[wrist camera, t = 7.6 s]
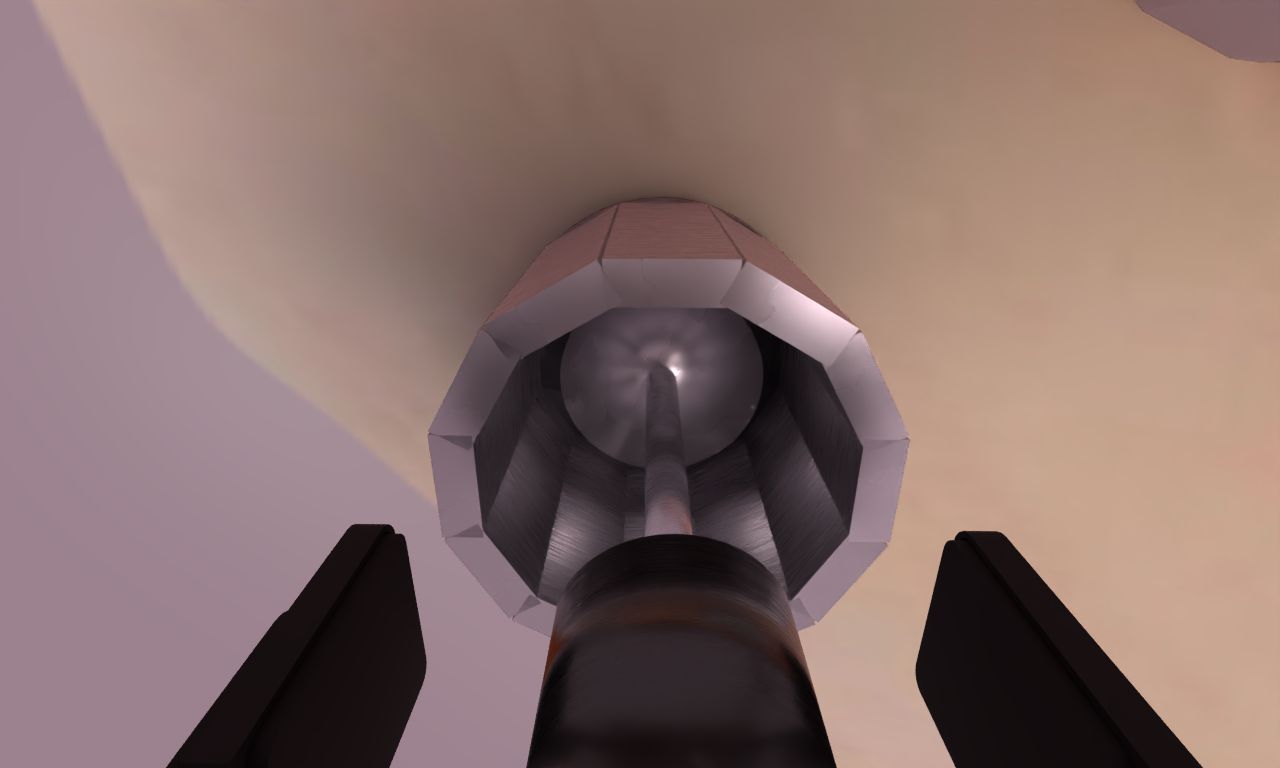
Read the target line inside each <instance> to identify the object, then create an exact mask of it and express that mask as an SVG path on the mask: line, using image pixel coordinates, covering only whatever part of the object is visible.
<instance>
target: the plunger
mask: <svg viewBox="0 0 1280 768" xmlns="http://www.w3.org/2000/svg"><path fill="white" fill-rule="evenodd" d="M560 383H561V391H562V395H563V399H564V403H565V406H566V408H567V411H568V413H569V415H570V417H571V419H572V420H573V422H574V424H575V425H576V427H577V428H578V429H579V431H580V432H581V433H582V434H583V436H584V437H585V438H586V439H587V440H589V441H590V442H591V443H592V444H593V445H594V446H595V447H597V448H598V449H599V450H601V451H602V452H604V453H606V454H607V455H609V456H611V457H612V458H615V459H617V460H619V461H622V462H624V463H627V464H631V465H634V466H639V467H644V468H645V524H644V537H641V538H637V539H633V540H629V541H626V542H624V543H621V544H619V545H616V546H613V547H611V548H609V549H608V550H606V551H604V552H602V553H600V554H598V555H597V556H596V557H594V558H593V559H591V560H590V561H589V562H587V563H586V564H585V565H584V566H583V567H582V568H581V569H580V570H579V571H577V572H576V574H575V575H574V576H573V577H572V579H571V580H570V581H569V582H568V584H567V586H566V587H565V589H564V591H563V593H562V594H561V597H560V599H559V602H558V605H557V609H556V614H555V619H554V624H553V629H552V635H551V640H550V645H549V651H548V656H547V661H546V666H545V672H544V677H543V683H542V688H541V693H540V699H539V703H538V709H537V714H536V719H535V725H534V730H533V735H532V740H531V746H530V751H529V756H528V762H527V767H526V768H837V767H836V764H835V760H834V757H833V753H832V750H831V746H830V743H829V739H828V736H827V732H826V729H825V726H824V722H823V719H822V715H821V712H820V708H819V705H818V701H817V698H816V694H815V691H814V687H813V684H812V680H811V677H810V674H809V670H808V667H807V663H806V660H805V656H804V653H803V649H802V646H801V642H800V639H799V635H798V632H797V628H796V625H795V622H794V618H793V615H792V611H791V608H790V605H789V601H788V598H787V596H786V594H785V592H784V590H783V588H782V586H781V585H780V583H779V582H778V580H777V579H776V578H775V576H774V575H773V574H772V573H771V572H770V571H769V570H768V569H767V568H766V567H765V566H764V565H763V564H762V563H761V562H759V561H758V560H757V559H755V558H754V557H753V556H751V555H750V554H748V553H746V552H744V551H743V550H741V549H739V548H737V547H735V546H732V545H730V544H728V543H725V542H722V541H719V540H715V539H712V538H708V537H702V536H697V535H693V533H692V523H691V514H690V504H689V494H688V485H687V475H686V466H688V465H691V464H695V463H698V462H700V461H703V460H705V459H707V458H709V457H711V456H713V455H715V454H717V453H718V452H720V451H721V450H723V449H724V448H725V447H727V446H728V445H729V444H730V443H732V442H733V441H734V440H735V439H736V438H737V437H738V436H739V435H740V433H741V432H742V431H743V430H744V429H745V427H746V426H747V424H748V423H749V421H750V420H751V418H752V416H753V414H754V412H755V410H756V408H757V405H758V402H759V399H760V396H761V391H762V385H763V365H762V357H761V354H760V350H759V346H758V344H757V341H756V339H755V337H754V335H753V332H752V330H751V328H750V326H749V324H748V323H747V321H746V319H745V318H744V317H743V316H741V315H739V314H738V313H736V312H734V311H732V310H731V309H729V308H642V307H613V308H611V309H609V310H608V311H606V312H604V313H602V314H600V315H599V316H597V317H595V318H593V319H591V320H590V321H588V322H586V323H584V324H582V325H581V326H579V327H577V328H575V329H573V330H572V331H571V333H570V335H569V338H568V340H567V343H566V346H565V349H564V352H563V356H562V362H561V368H560Z"/></svg>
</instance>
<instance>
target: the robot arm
mask: <svg viewBox="0 0 1280 768" xmlns="http://www.w3.org/2000/svg"><path fill="white" fill-rule="evenodd" d="M425 673H426V654H425V648H424V642H423V637H422V631H421V625H420V619H419V614H418V608H417V603H416V596H415V591H414V585H413V579H412V573H411V568H410V563H409V556H408V550H407V545H406V540H405V537H404V536H403V535H402V534H395V531H394V529H393V527H392V526H391V525H388V524H354V525H352V526H350V528H348V529H347V531H346V532H345V534H344V535H343V536H342V538H341V539H340V540H339V542H338V543H337V545H336V546H335V547H334V549H333V550H332V551H331V553H330V554H329V555H328V557H327V558H326V559H325V561H324V562H323V564H322V565H321V566H320V568H319V569H318V571H317V572H316V573H315V575H314V576H313V577H312V579H311V580H310V581H309V583H308V584H307V585H306V587H305V588H304V589H303V591H302V592H301V593H300V595H299V596H298V598H297V599H296V600H295V602H294V603H293V605H292V606H291V607H290V609H289V610H288V611H286V612H284V613H282V615H280V616H279V617H278V619H277V620H276V621H275V622H274V623H273V624H272V626H271V627H270V628H269V630H268V631H267V633H266V634H265V635H264V637H263V638H262V639H261V641H260V642H259V643H258V645H257V646H256V647H255V649H254V650H253V652H252V653H251V654H250V655H249V657H248V658H247V659H246V661H245V662H244V663H243V665H242V666H241V667H240V669H239V670H238V671H237V673H236V674H235V675H234V677H233V678H232V680H231V681H230V682H229V684H228V685H227V687H226V688H225V689H224V690H223V692H222V693H221V694H220V696H219V697H218V698H217V700H216V701H215V703H214V704H213V705H212V706H211V708H210V709H209V711H208V712H207V713H206V715H205V716H204V717H203V719H202V720H201V721H200V723H199V724H198V725H197V727H196V728H195V729H194V731H193V732H192V733H191V735H190V736H189V737H188V739H187V740H186V741H185V743H184V744H183V746H182V747H181V748H180V749H179V751H178V752H177V753H176V755H175V756H174V758H173V759H172V760H171V762H170V763H169V764H168V766H167V767H166V768H389V767H390V765H391V761H392V760H393V757H394V755H395V752H396V749H397V747H398V745H399V742H400V739H401V737H402V735H403V732H404V730H405V727H406V724H407V722H408V720H409V717H410V715H411V712H412V709H413V707H414V705H415V702H416V700H417V697H418V695H419V692H420V690H421V687H422V684H423V681H424V678H425ZM916 680H917V684H918V688H919V690H920V693H921V695H922V697H923V699H924V701H925V703H926V705H927V708H928V710H929V712H930V714H931V716H932V718H933V720H934V722H935V725H936V727H937V729H938V731H939V733H940V735H941V737H942V739H943V741H944V744H945V746H946V748H947V750H948V752H949V754H950V756H951V758H952V761H953V763H954V765H955V767H956V768H1203V767H1202V766H1201V765H1200V764H1199V763H1198V761H1197V760H1196V759H1195V758H1194V757H1193V756H1192V754H1191V753H1190V752H1189V751H1188V750H1187V748H1186V747H1185V746H1184V745H1183V744H1182V743H1181V741H1180V740H1179V739H1178V738H1177V737H1176V736H1175V734H1174V733H1173V732H1172V731H1171V730H1170V729H1169V727H1168V726H1167V725H1166V724H1165V723H1164V722H1163V720H1162V719H1161V718H1160V717H1159V716H1158V714H1157V713H1156V712H1155V711H1154V710H1153V709H1152V707H1151V706H1150V705H1149V704H1148V703H1147V702H1146V700H1145V699H1144V698H1143V697H1142V696H1141V695H1140V693H1139V692H1138V691H1137V690H1136V689H1135V687H1134V686H1133V685H1132V684H1131V683H1130V682H1129V680H1128V679H1127V678H1126V677H1125V676H1124V675H1123V673H1122V672H1121V671H1120V670H1119V669H1118V668H1117V666H1116V665H1115V664H1114V663H1113V662H1112V661H1111V659H1110V658H1109V657H1108V656H1107V655H1106V653H1105V652H1104V651H1103V650H1102V649H1101V648H1100V646H1099V645H1098V644H1097V643H1096V642H1095V641H1094V639H1093V638H1092V637H1091V636H1090V635H1089V634H1088V632H1087V631H1086V630H1085V629H1084V628H1083V626H1082V625H1081V624H1080V623H1079V622H1078V621H1077V619H1076V618H1075V617H1074V616H1073V615H1072V614H1071V612H1070V611H1069V610H1068V609H1067V608H1066V607H1065V605H1064V604H1063V603H1062V602H1061V601H1060V599H1059V598H1058V597H1057V596H1056V595H1055V594H1054V592H1053V591H1052V590H1051V589H1050V588H1049V587H1048V585H1047V584H1046V583H1045V582H1044V581H1043V580H1042V578H1041V577H1040V576H1039V575H1038V574H1037V573H1036V571H1035V570H1034V569H1033V568H1032V567H1031V565H1030V564H1029V563H1028V562H1027V561H1026V560H1025V558H1024V557H1023V556H1022V555H1021V554H1020V553H1019V551H1018V550H1017V549H1016V548H1015V547H1014V546H1013V544H1012V543H1011V542H1010V541H1009V540H1008V538H1007V537H1006V536H1005V535H1003V534H1002V533H1000V532H997V531H962V532H959V533H958V534H957V535H956V537H955V539H954V540H950V541H947V542H946V544H945V546H944V549H943V553H942V557H941V562H940V566H939V570H938V574H937V578H936V583H935V587H934V591H933V595H932V599H931V604H930V608H929V612H928V616H927V620H926V624H925V629H924V633H923V637H922V641H921V645H920V650H919V654H918V658H917V662H916Z"/></svg>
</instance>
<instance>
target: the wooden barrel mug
mask: <svg viewBox="0 0 1280 768" xmlns="http://www.w3.org/2000/svg"><path fill="white" fill-rule="evenodd" d="M613 307H642V308H729V309H731V310H732V311H734V312H736V313H738V314H739V315H741V316H743V317H744V318H745V319H746V321H747V323H748V324H749V326H750V328H751V330H752V332H753V335H754V337H755V339H756V341H757V344H758V346H759V350H760V354H761V357H762V365H763V385H762V391H761V396H760V399H759V402H758V405H757V408H756V410H755V412H754V414H753V416H752V418H751V420H750V421H749V423H748V424H747V426H746V427H745V429H744V430H743V431H742V432H741V433H740V435H739V436H738V437H737V438H736V439H735V440H734V441H733V442H732V443H730V444H729V445H728V446H727V447H725V448H724V449H723V450H721V451H720V452H718V453H717V454H715V455H713V456H711V457H709V458H707V459H705V460H703V461H700V462H698V463H695V464H691V465H688V466H686V475H687V485H688V494H689V504H690V514H691V523H692V533H693V535H697V536H702V537H708V538H712V539H715V540H719V541H722V542H725V543H728V544H730V545H732V546H735V547H737V548H739V549H741V550H743V551H744V552H746V553H748V554H750V555H751V556H753V557H754V558H755V559H757V560H758V561H759V562H761V563H762V564H763V565H764V566H765V567H766V568H767V569H768V570H769V571H770V572H771V573H772V574H773V575H774V576H775V578H776V579H777V580H778V582H779V583H780V585H781V586H782V588H783V590H784V592H785V594H786V596H787V598H788V601H789V605H790V608H791V611H792V615H793V618H794V622H795V625H796V628H797V632H798V631H800V630H803V629H805V628H808V627H810V626H812V625H815V622H814V620H815V621H817V622H819V621H820V620H821V619H822V618H823V617H824V616H825V615H826V613H827V612H828V611H829V610H830V609H831V608H832V607H833V606H834V605H835V604H836V602H837V601H838V600H839V599H840V598H841V597H842V596H843V595H844V594H845V593H846V591H847V590H848V589H849V588H850V587H851V586H852V585H853V584H854V583H855V582H856V580H857V579H858V578H859V577H860V576H861V575H862V574H863V573H864V572H865V571H866V570H867V568H868V567H869V566H870V565H871V564H872V563H873V562H874V561H875V560H876V559H877V557H878V556H879V555H880V554H881V553H882V552H883V551H884V550H885V549H886V548H887V546H888V545H887V543H886V542H890V539H891V534H892V529H893V524H894V519H895V514H896V508H897V503H898V498H899V493H900V488H901V483H902V478H903V473H904V468H905V463H906V457H907V452H908V447H909V442H910V440H909V438H908V436H909V434H908V432H907V429H906V427H905V425H904V423H903V421H902V418H901V416H900V414H899V412H898V410H897V407H896V405H895V403H894V401H893V399H892V396H891V394H890V392H889V390H888V388H887V385H886V383H885V381H884V379H883V377H882V374H881V372H880V370H879V368H878V366H877V363H876V361H875V359H874V357H873V355H872V352H871V350H870V348H869V346H868V344H867V341H866V339H865V337H864V335H863V333H862V331H861V330H860V329H859V328H858V327H857V326H856V325H855V324H854V323H853V322H852V321H851V320H850V319H849V318H848V317H847V316H846V315H845V314H844V313H843V312H842V311H841V310H840V309H839V308H838V307H837V306H836V305H835V304H834V303H833V302H832V301H831V300H830V299H829V298H828V297H827V296H826V295H825V294H824V293H823V292H822V291H821V290H820V289H819V288H818V287H817V286H816V285H815V284H814V283H813V282H812V281H811V280H810V279H809V278H808V277H807V276H806V275H805V274H804V273H803V272H802V271H801V270H800V269H799V268H798V267H797V266H796V265H795V264H794V263H793V262H792V261H791V260H790V259H789V258H788V257H787V256H786V255H785V254H784V253H783V252H782V251H781V250H780V249H779V248H778V247H777V246H775V245H774V244H772V243H770V242H769V241H767V240H766V239H764V238H763V237H762V236H761V235H760V234H759V233H758V232H757V231H755V230H754V229H753V228H751V227H750V226H748V225H747V224H746V223H744V222H743V221H741V220H740V219H738V218H736V217H734V216H733V215H731V214H729V213H727V212H725V211H723V210H721V209H718V208H715V207H713V206H711V205H709V204H708V205H707V204H705V203H700V202H696V201H691V200H686V199H679V198H666V197H658V198H642V199H637V200H632V201H627V202H622V203H619V204H616V205H613V206H610V207H607V208H604V209H602V210H600V211H598V212H596V213H594V214H592V215H590V216H588V217H586V218H584V219H583V220H581V221H580V222H578V223H577V224H575V225H574V226H573V227H571V228H570V229H568V230H567V231H566V232H565V233H564V234H563V235H562V236H561V237H559V238H558V239H557V240H555V241H554V242H552V243H550V244H549V245H547V246H546V248H544V250H543V251H542V252H541V253H540V255H539V256H538V257H537V258H536V260H535V261H534V262H533V263H532V265H531V266H530V267H529V268H528V270H527V271H526V272H525V273H524V274H523V276H522V277H521V278H520V279H519V281H518V282H517V283H516V284H515V286H514V287H513V288H512V289H511V291H510V292H509V293H508V294H507V296H506V297H505V298H504V299H503V301H502V302H501V303H500V304H499V306H498V307H497V308H496V309H495V311H494V312H493V313H492V314H491V316H490V317H489V318H488V319H487V321H486V322H485V323H484V324H483V325H482V327H481V328H480V329H479V331H478V333H477V335H476V337H475V339H474V341H473V343H472V345H471V347H470V349H469V351H468V353H467V355H466V357H465V359H464V361H463V363H462V365H461V367H460V369H459V371H458V373H457V375H456V377H455V379H454V381H453V383H452V385H451V387H450V389H449V391H448V393H447V395H446V397H445V399H444V401H443V403H442V405H441V407H440V409H439V411H438V413H437V415H436V417H435V419H434V421H433V423H432V424H431V426H430V428H429V430H428V431H429V434H428V442H429V449H430V456H431V463H432V469H433V476H434V483H435V490H436V497H437V504H438V511H439V517H440V524H441V531H442V537H446V538H445V540H444V541H445V542H446V544H447V545H448V546H449V547H450V548H451V550H452V551H453V552H454V553H455V554H456V555H457V557H458V558H459V559H460V560H461V561H462V563H463V564H464V565H465V566H466V567H467V569H468V570H469V571H470V572H471V573H472V575H473V576H474V577H475V578H476V579H477V581H478V582H479V583H480V584H481V585H482V587H483V588H484V589H485V590H486V591H487V593H488V594H489V595H490V596H491V597H492V598H493V600H494V601H495V602H496V603H497V604H498V606H499V607H500V608H501V609H502V610H503V612H504V613H505V614H506V615H507V616H508V618H510V617H512V616H513V619H512V620H513V621H515V622H517V623H519V624H521V625H524V626H526V627H528V628H531V629H533V630H535V631H537V632H540V633H542V634H544V635H547V636H549V637H551V635H552V629H553V624H554V619H555V614H556V609H557V605H558V602H559V599H560V597H561V594H562V593H563V591H564V589H565V587H566V586H567V584H568V582H569V581H570V580H571V579H572V577H573V576H574V575H575V574H576V572H577V571H579V570H580V569H581V568H582V567H583V566H584V565H585V564H586V563H587V562H589V561H590V560H591V559H593V558H594V557H596V556H597V555H598V554H600V553H602V552H604V551H606V550H608V549H609V548H611V547H613V546H616V545H619V544H621V543H624V542H626V541H629V540H633V539H637V538H641V537H644V524H645V468H644V467H639V466H634V465H631V464H627V463H624V462H622V461H619V460H617V459H615V458H612V457H611V456H609V455H607V454H606V453H604V452H602V451H601V450H599V449H598V448H597V447H595V446H594V445H593V444H592V443H591V442H590V441H589V440H587V439H586V438H585V437H584V436H583V434H582V433H581V432H580V431H579V429H578V428H577V427H576V425H575V424H574V422H573V420H572V419H571V417H570V415H569V413H568V411H567V408H566V406H565V403H564V399H563V395H562V391H561V383H560V368H561V362H562V356H563V352H564V349H565V346H566V343H567V340H568V338H569V335H570V333H571V331H572V330H573V329H575V328H577V327H579V326H581V325H582V324H584V323H586V322H588V321H590V320H591V319H593V318H595V317H597V316H599V315H600V314H602V313H604V312H606V311H608V310H609V309H611V308H613Z"/></svg>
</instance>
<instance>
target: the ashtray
mask: <svg viewBox="0 0 1280 768" xmlns="http://www.w3.org/2000/svg"><path fill="white" fill-rule="evenodd" d="M1134 1H1135V2H1136V4H1137V5H1138V6H1139V7H1140V8H1141V9H1142V10H1143V12H1145V13H1147V14H1149V15H1151V16H1153V17H1155V18H1156V19H1158V20H1160V21H1162V22H1164V23H1166V24H1168V25H1169V26H1171V27H1173V28H1175V29H1177V30H1179V31H1181V32H1182V33H1184V34H1186V35H1188V36H1190V37H1192V38H1194V39H1195V40H1197V41H1199V42H1201V43H1203V44H1205V45H1207V46H1208V47H1210V48H1212V49H1214V50H1216V51H1218V52H1220V53H1221V54H1223V55H1225V56H1227V57H1229V58H1233V59H1239V60H1246V61H1253V62H1259V63H1260V62H1280V0H1134Z"/></svg>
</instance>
